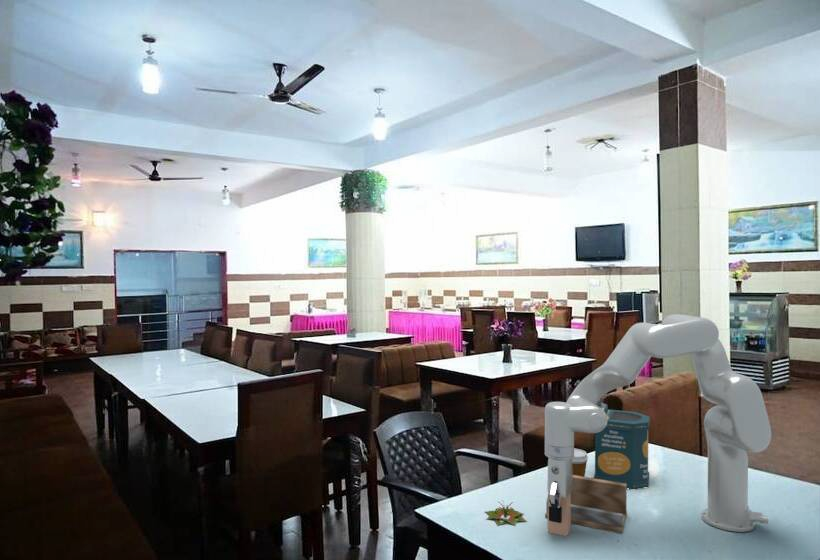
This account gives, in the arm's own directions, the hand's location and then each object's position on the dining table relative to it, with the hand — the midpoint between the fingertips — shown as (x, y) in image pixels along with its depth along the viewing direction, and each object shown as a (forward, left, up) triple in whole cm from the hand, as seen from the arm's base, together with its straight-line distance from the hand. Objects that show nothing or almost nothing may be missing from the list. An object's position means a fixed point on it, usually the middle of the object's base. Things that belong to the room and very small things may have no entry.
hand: (559, 514), depth 143 cm
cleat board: (-5, -12, -4) cm, 14 cm away
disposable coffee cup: (+2, -29, -4) cm, 29 cm away
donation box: (-11, -46, -5) cm, 48 cm away
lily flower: (+15, -1, -5) cm, 16 cm away
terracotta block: (0, 0, -4) cm, 4 cm away
